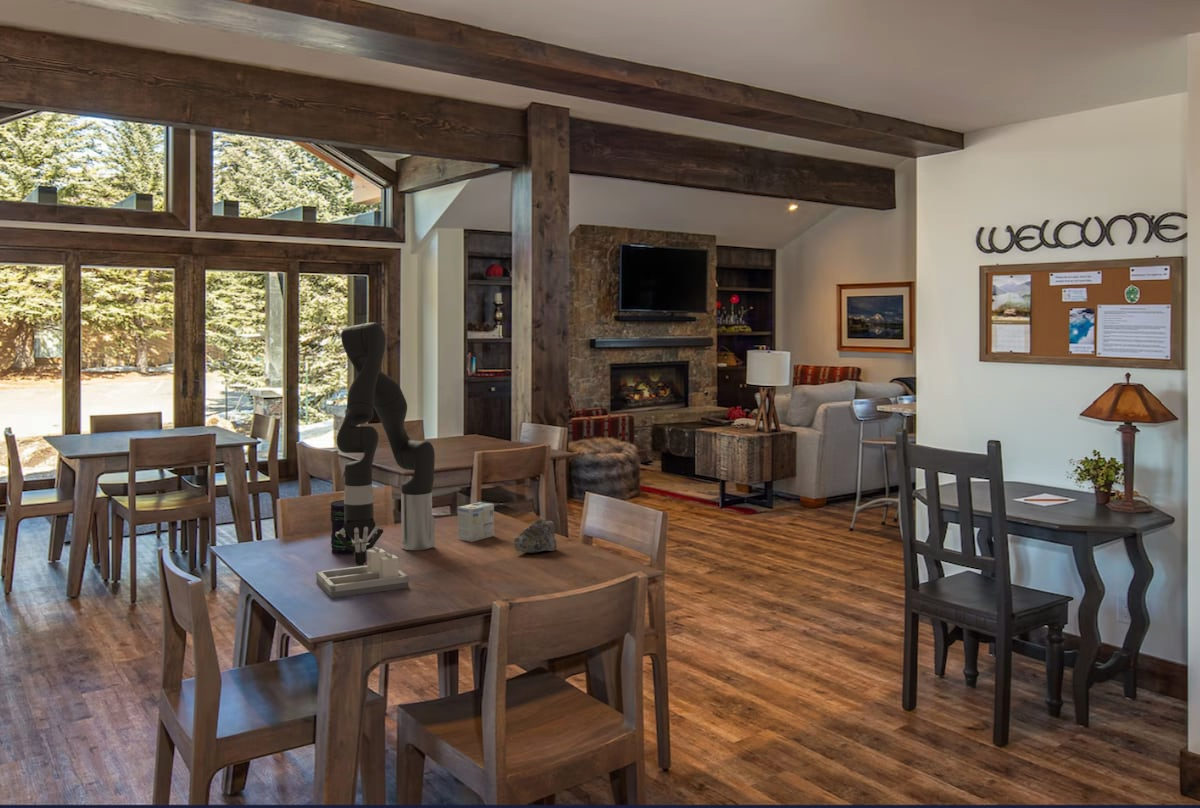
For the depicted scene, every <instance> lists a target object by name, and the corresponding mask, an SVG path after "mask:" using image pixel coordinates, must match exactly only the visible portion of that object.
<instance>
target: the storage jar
mask: <svg viewBox="0 0 1200 808" xmlns="http://www.w3.org/2000/svg"><path fill="white" fill-rule="evenodd" d="M344 521H345V519H344V499H342V500H341V499H340V500H335V501H332V502H330V522H331V534H330V539H331V540H330V546H331V554H333V555H335V556H336V555H337V556H354V551H350V550H348V549H347V548H346V547H345V546H344V544H343V543H342V542H341V541H340V540H339V539H338V538H337V537H336V536H335V533H336V532H339V531H340V530H341V529H342V528H343V524H344ZM345 535H346V537H345V539H346V540H347V541H348V542H349V543H350V545H353V543H352V538H351V537H350V536H349V535H348V534H347V533H346V532H345ZM359 545H360V543H359Z"/></svg>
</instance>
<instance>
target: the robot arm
mask: <svg viewBox="0 0 1200 808" xmlns="http://www.w3.org/2000/svg"><path fill="white" fill-rule="evenodd" d="M340 337H341V338H340V339H341V343H342V347H343V350H344V351H345V353H346V356H347V358H348V359H349V360H350V363H351V364H352V366H353V368H354V369H355V372H357V375H356V377H355V378H354V380H353V381H352V383H351V385H350V387H349V390H348V394H347V403H346V412H345V416H344V418H343V421H342V424H341V426H340V427H339V430H338V433H337V436H336V445H337V447H338V450H340V452H342V453H345V454H361V453H362V454H363V457H362V458H361V459H359V460H358V459H357V460H355V461H350V462H347V463H346V464H345V465H344V491H343V500H344V519H345V521H344V524H343V528H342V529H341V530H340V531H339V532H336V533H335V536H336V537H337V538H338V539H339V540H340V541H341V542H342V543H343V544H344V546H345V547H346V548H347V549H348V550H350V551H354V555H353V562H354V564H356V565H357V567H358V566H365V565H364V564H365V563H366V562H367V550H370V549H372V548H373V547H375V544H376V543H377V541H378V540H379V539H380V537H381V536H382V535H383V534H384V529H383V528H381V527H379V526H377V524H376V522H375V520H374V515H375V514H374V513H375V512H374V500H375V498H374V497H375V496H374V489H373V464H374V458H375V454H376V451H377V447H378V443H379V433H378V431H377V429H376V428H375V427H373V426H371V425H370V426H369V425H368V426H364V425H363V424H366V423H369V422H370V421H371V420H373V417H374V410H375V412H376V415H377V417H378V418H379V420H380V422H381V425H382V428H383V429H384V432H385V434H386V436H387V440H388V443H389V444H390V445H389V446H390V448H391V451H392V455H393V457H394V461H395V462H396V464H397V466H398V467H399V468H400V469H403V470H407V471H413V472H414V473H413V478H412V479H410V480H407V481H404V482H403V483H402V484H401V487H400V489H401V491H400V492H401V493H400V495H401V497H400V498H401V503H400V504H401V549H403V550H405V551H423V550H424V551H425V550H429V549H432V548H435V547H436V546H435V545H436V542H435V536H436V535H435V516H433V486H434V485H433V484H434V481H435V463H436V462H435V461H436V459H435V458H436V457H435V455H436V454H435V448H434V446H433V444H432V443H431V442H430V441H427V440H419V439H418V440H416V439H411V438H410V437H409V436H408V433H407V431H406V429H405V421H406V416H407V412H408V404H407V400H406V398H405V395H404V393H403V390H402V389H401V387H400V385H399V384H398V382H396V381H395V379H393V378H392V377H391V376H389V375H388V374H386V373H385V372H383V371H382V370H381V366H382V363H383V359H384V354H385V350H386V334H385V331H384V329H383V327H382V325H381V324H379V322H366V323H360V324H355V325H352V326H346V327H345V328H344V329H343V330H342V331H341V335H340ZM360 425H361V426H360ZM362 425H363V426H362ZM345 532H346V533H347V534H348V535H349V536H350V537H351V538H352V543H353V545H350V543H349V542H348V541H347V540H346V539H345V537H346V535H345ZM371 533H372V534H371ZM370 535H371V536H370ZM369 536H370V537H369ZM368 537H369V539H368ZM359 543H360V545H359Z"/></svg>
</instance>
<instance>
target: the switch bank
mask: <svg viewBox="0 0 1200 808" xmlns="http://www.w3.org/2000/svg"><path fill="white" fill-rule="evenodd" d="M316 583H317V585H318V586H319V587H320V588H321V589H322V590H323V592H325V593H326V594H327V595H328V597H329V598H330V599H335V598H341V597H342V598H343V597H348V596H357V594H358V595H363V594H372V593H378V592H384V591H385V592H386V591H393V590H400V589H408V588H409V575H407V574H406V573H405V572H403V570H401V569H399V576H398V577H390V578H382V579H379V571H377V572H369V573H368V572H367V565H361V566H358V565H357V566H352V567H344V568H335V569H328V570H326V569H325V570H318V571H316Z"/></svg>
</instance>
